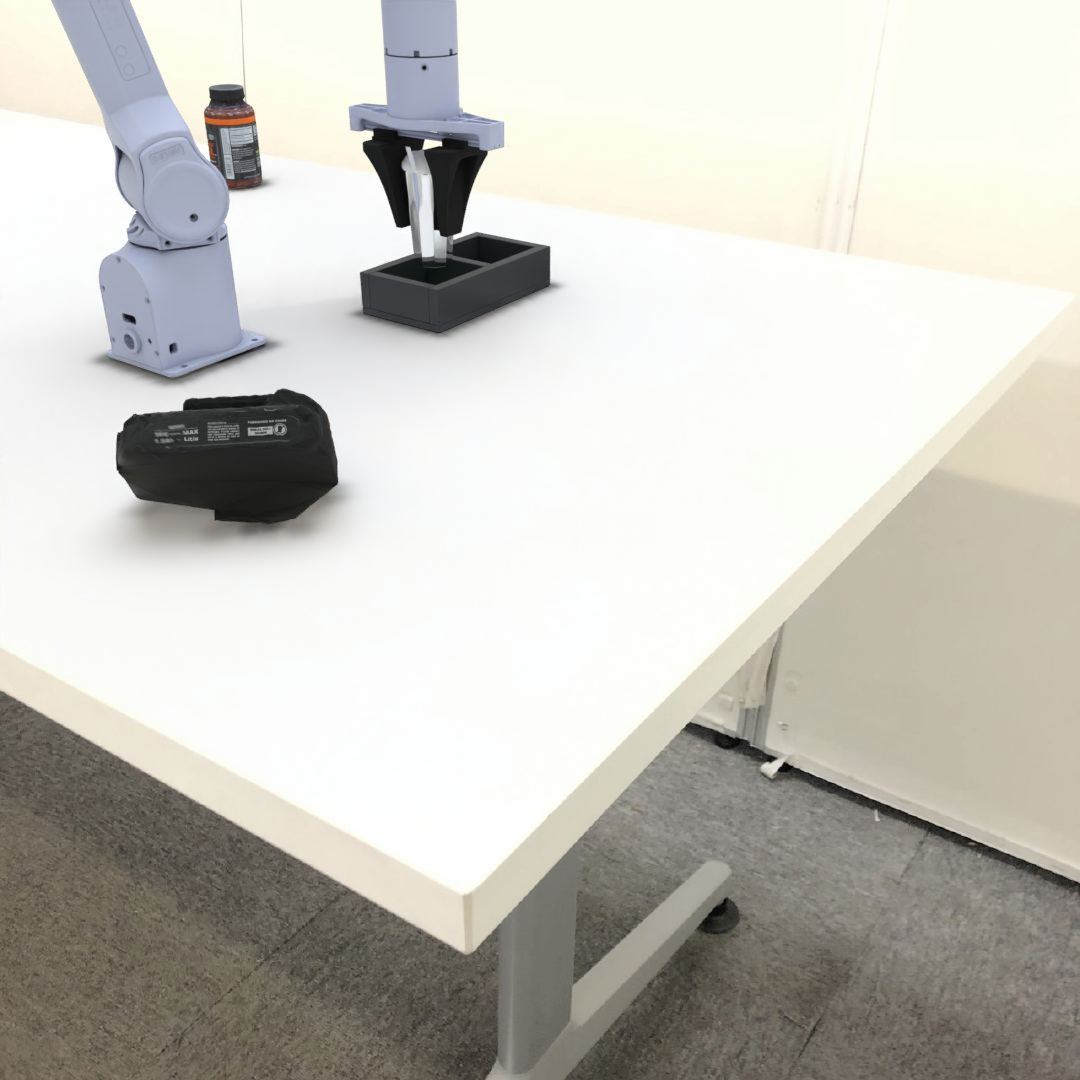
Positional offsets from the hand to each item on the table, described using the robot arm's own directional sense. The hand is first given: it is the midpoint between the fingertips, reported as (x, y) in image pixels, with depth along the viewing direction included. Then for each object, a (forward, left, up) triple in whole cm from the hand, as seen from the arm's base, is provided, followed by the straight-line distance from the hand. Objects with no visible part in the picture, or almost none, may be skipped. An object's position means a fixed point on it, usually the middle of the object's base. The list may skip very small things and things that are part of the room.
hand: (429, 229), depth 94 cm
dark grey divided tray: (+4, 0, -7) cm, 8 cm away
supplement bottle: (+23, +50, -7) cm, 55 cm away
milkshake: (0, 0, -3) cm, 3 cm away
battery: (-34, -14, -7) cm, 38 cm away
